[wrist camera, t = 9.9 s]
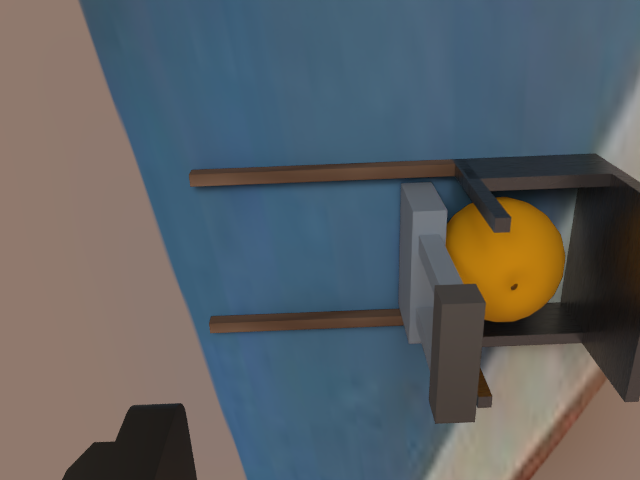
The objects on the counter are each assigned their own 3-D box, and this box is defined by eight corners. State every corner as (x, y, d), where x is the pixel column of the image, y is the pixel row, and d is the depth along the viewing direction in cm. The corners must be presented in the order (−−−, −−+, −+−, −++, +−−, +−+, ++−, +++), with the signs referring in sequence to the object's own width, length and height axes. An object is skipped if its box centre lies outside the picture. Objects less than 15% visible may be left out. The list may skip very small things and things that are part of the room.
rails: (191, 169, 39) (188, 174, 38) (451, 159, 39) (455, 163, 38) (212, 325, 44) (210, 333, 43) (442, 316, 44) (445, 323, 43)
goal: (451, 159, 39) (495, 218, 30) (595, 153, 39) (683, 210, 30) (442, 316, 44) (477, 407, 35) (569, 311, 44) (638, 401, 35)
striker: (400, 183, 39) (443, 283, 27) (431, 182, 39) (487, 281, 27) (398, 303, 43) (434, 440, 30) (426, 302, 43) (473, 438, 30)
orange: (503, 302, 43) (539, 365, 36) (407, 264, 42) (426, 322, 35) (564, 209, 40) (616, 258, 33) (463, 164, 39) (496, 206, 32)
